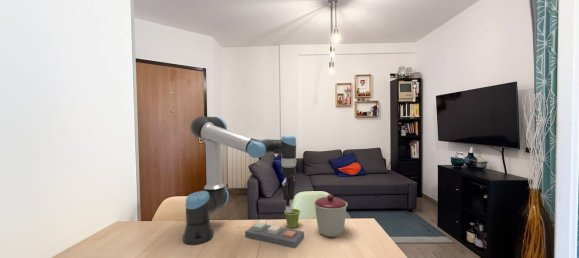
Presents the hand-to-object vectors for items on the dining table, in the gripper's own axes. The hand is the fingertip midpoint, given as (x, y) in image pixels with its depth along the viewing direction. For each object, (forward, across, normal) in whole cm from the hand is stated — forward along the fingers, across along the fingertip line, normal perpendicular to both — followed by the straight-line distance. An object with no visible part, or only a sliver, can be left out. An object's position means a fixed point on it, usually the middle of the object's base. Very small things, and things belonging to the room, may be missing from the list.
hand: (288, 212), depth 121 cm
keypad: (+15, 0, +8) cm, 17 cm away
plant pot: (+15, +16, +6) cm, 23 cm away
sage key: (+13, 0, +18) cm, 22 cm away
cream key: (+13, 0, +9) cm, 15 cm away
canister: (+15, +16, -18) cm, 28 cm away
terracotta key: (+13, 0, 0) cm, 13 cm away
